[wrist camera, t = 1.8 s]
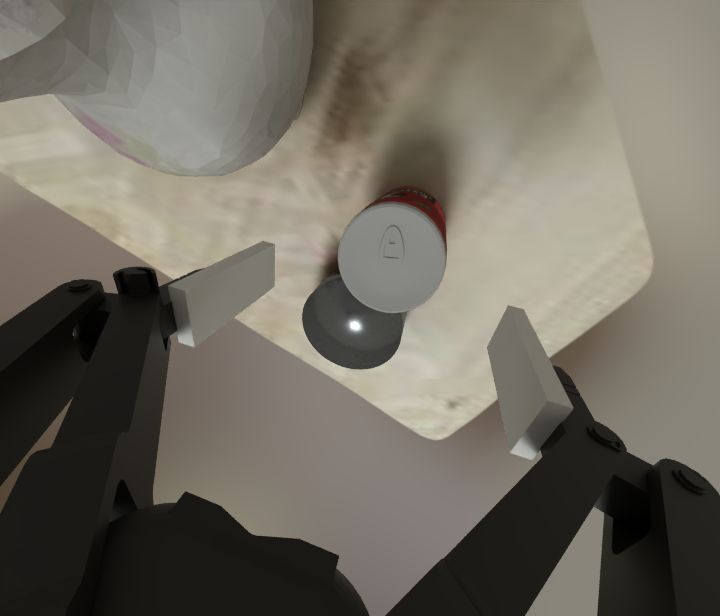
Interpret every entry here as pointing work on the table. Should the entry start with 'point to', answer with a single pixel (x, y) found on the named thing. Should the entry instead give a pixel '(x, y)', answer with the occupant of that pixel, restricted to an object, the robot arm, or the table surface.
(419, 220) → the canned food
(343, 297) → the pedestal
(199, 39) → the ceramic pitcher
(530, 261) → the table surface
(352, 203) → the table surface
